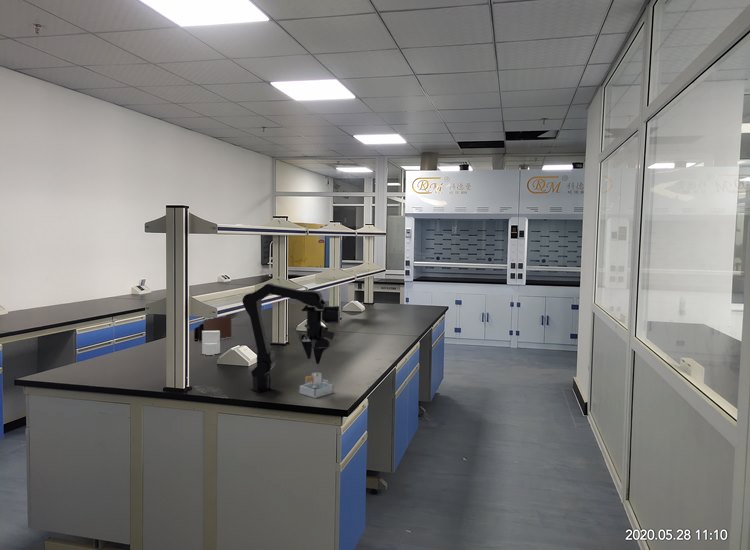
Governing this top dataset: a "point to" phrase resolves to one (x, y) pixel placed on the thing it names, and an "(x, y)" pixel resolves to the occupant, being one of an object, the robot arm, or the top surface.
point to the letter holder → (214, 327)
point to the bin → (316, 393)
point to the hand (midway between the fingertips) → (313, 361)
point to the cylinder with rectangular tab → (210, 342)
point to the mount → (321, 381)
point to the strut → (314, 380)
